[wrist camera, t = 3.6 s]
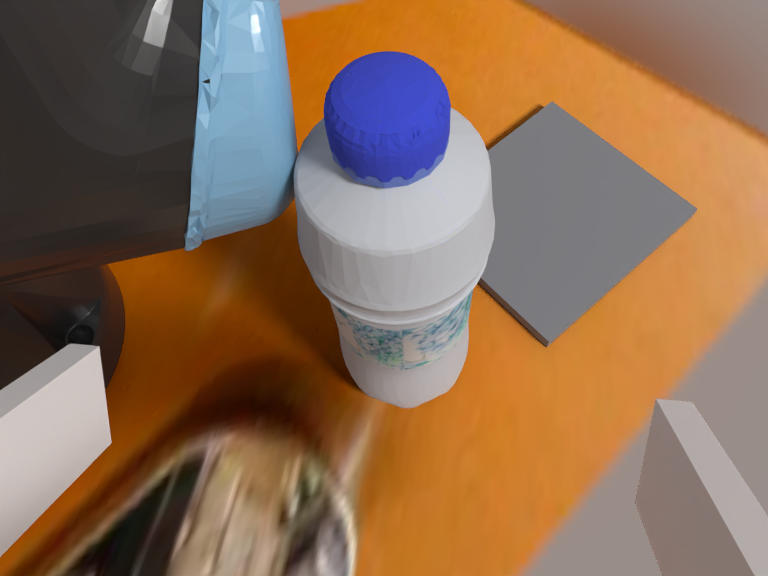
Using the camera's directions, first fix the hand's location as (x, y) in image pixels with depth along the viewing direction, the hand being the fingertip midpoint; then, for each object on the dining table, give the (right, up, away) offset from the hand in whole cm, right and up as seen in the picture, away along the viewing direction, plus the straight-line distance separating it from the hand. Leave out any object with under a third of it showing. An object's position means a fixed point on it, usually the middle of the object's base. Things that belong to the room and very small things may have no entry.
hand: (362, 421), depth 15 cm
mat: (+10, +7, +22) cm, 25 cm away
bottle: (+2, -1, +19) cm, 19 cm away
